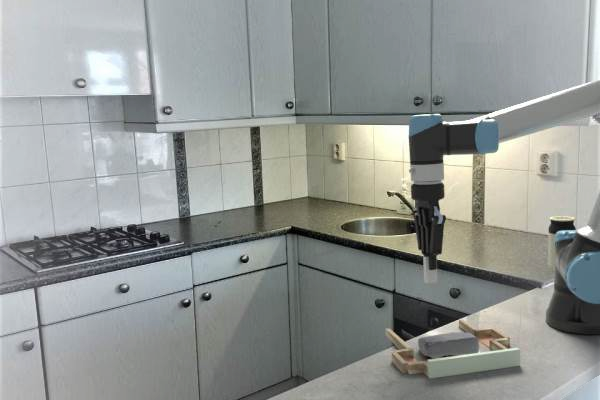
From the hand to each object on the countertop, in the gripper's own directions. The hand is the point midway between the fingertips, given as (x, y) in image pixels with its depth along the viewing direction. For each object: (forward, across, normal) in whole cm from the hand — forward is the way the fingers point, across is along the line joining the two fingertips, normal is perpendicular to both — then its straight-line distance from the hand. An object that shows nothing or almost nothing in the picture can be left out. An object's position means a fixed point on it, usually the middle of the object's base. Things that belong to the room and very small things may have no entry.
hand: (430, 282), depth 136 cm
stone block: (+11, +6, -1) cm, 12 cm away
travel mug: (+14, -39, +64) cm, 76 cm away
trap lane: (+13, +9, -1) cm, 16 cm away
